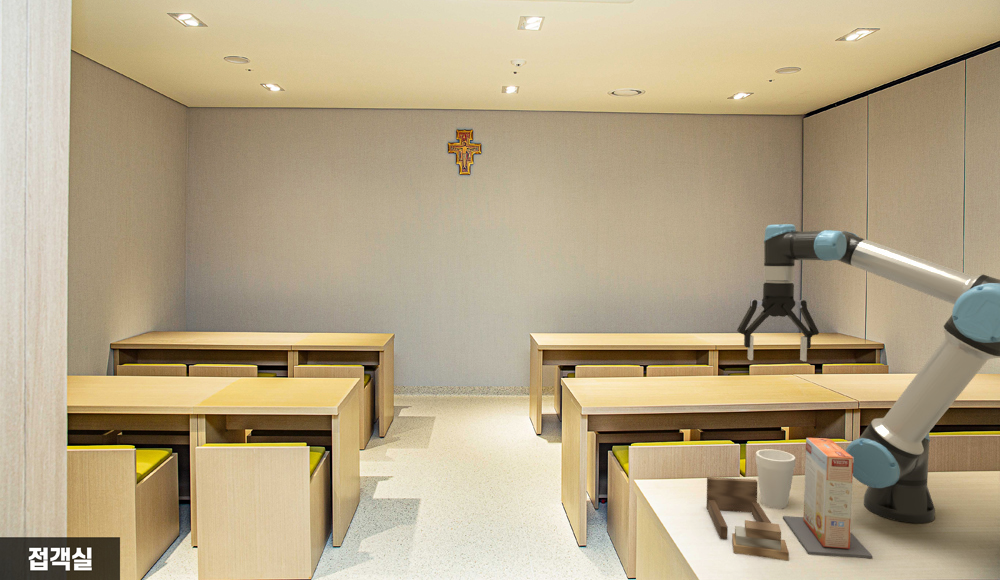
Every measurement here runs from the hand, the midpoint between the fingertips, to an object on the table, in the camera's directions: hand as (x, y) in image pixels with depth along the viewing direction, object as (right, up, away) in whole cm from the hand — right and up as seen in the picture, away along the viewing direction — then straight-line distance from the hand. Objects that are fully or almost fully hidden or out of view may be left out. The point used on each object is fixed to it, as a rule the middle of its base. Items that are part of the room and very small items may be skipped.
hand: (776, 360), depth 164 cm
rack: (-17, -38, -17) cm, 45 cm away
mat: (0, -38, -24) cm, 45 cm away
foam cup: (-3, -37, -5) cm, 38 cm away
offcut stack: (-18, -39, -30) cm, 52 cm away
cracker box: (0, -38, -24) cm, 45 cm away
